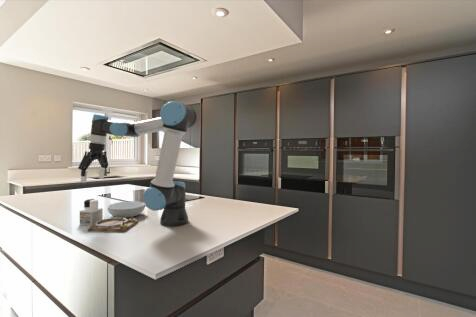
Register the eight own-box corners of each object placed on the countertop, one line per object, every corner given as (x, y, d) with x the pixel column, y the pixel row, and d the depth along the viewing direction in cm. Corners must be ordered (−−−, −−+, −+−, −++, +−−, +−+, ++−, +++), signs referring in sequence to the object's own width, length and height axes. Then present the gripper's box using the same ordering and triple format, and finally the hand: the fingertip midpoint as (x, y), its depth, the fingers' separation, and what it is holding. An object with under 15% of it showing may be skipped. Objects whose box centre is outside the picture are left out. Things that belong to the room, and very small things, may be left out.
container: (79, 225, 128) (79, 200, 127) (90, 221, 135) (90, 197, 135) (92, 226, 126) (92, 201, 126) (102, 221, 134) (102, 198, 133)
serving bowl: (98, 218, 140) (98, 206, 140) (126, 210, 160) (126, 200, 160) (127, 222, 134) (127, 210, 133) (152, 213, 153) (152, 202, 153)
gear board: (138, 222, 134) (138, 215, 134) (124, 231, 118) (124, 223, 118) (105, 221, 134) (105, 214, 134) (87, 231, 118) (87, 223, 118)
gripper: (106, 141, 146) (101, 176, 147) (73, 141, 121) (68, 182, 123) (117, 144, 145) (113, 178, 146) (86, 143, 120) (81, 185, 122)
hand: (92, 180), depth 134 cm, fingers open, 13 cm apart
